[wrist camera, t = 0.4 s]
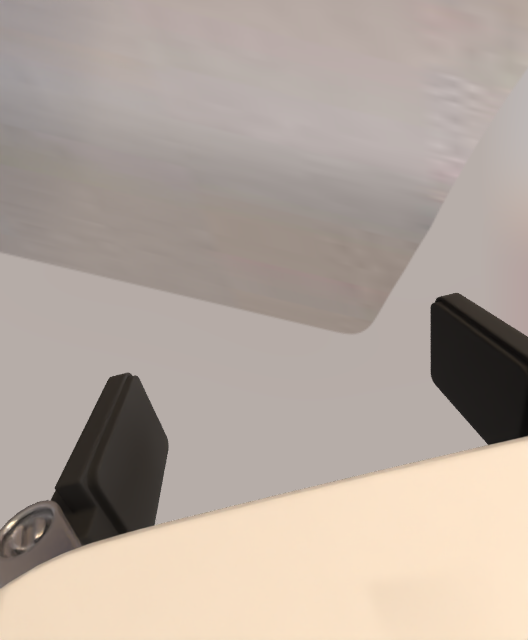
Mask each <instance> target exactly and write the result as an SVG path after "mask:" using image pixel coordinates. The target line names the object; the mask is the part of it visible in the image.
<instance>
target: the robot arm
mask: <svg viewBox="0 0 528 640" xmlns="http://www.w3.org/2000/svg"><path fill="white" fill-rule="evenodd" d="M431 377H432V380H433V382H434V383H435V385H436V386H437V387H438V388H439V389H440V391H441V392H442V393H443V394H444V395H445V396H446V397H447V399H448V400H450V402H451V403H452V404H453V405H454V406H455V408H456V409H457V410H458V411H459V412H460V413H461V414H462V416H463V417H464V418H465V419H466V420H467V421H468V422H469V423H470V425H471V426H472V427H473V428H474V429H475V430H476V431H477V433H478V434H479V435H480V436H481V437H482V438H483V439H484V440H485V442H486V443H487V444H488V445H486V446H482V447H478V448H473V449H470V450H465V451H460V452H456V453H452V454H448V455H444V456H439V457H435V458H430V459H427V460H422V461H418V462H413V463H409V464H405V465H401V466H396V467H392V468H388V469H384V470H379V471H375V472H371V473H367V474H363V475H359V476H354V477H350V478H346V479H342V480H337V481H333V482H329V483H325V484H321V485H317V486H313V487H308V488H304V489H300V490H296V491H292V492H288V493H283V494H279V495H275V496H271V497H267V498H263V499H259V500H255V501H251V502H247V503H243V504H238V505H234V506H230V507H226V508H222V509H218V510H214V511H210V512H206V513H202V514H198V515H194V516H190V517H186V518H182V519H178V520H174V521H170V522H166V523H162V524H159V525H154V524H155V519H156V514H157V508H158V503H159V497H160V492H161V486H162V481H163V475H164V469H165V464H166V459H167V454H168V439H167V436H166V434H165V432H164V430H163V428H162V426H161V424H160V421H159V419H158V417H157V415H156V413H155V411H154V409H153V407H152V405H151V402H150V400H149V398H148V396H147V394H146V392H145V390H144V388H143V385H142V383H141V381H140V379H139V378H138V376H132V375H131V374H130V373H125V374H121V375H116V376H112V377H110V378H109V379H108V381H107V383H106V385H105V387H104V389H103V391H102V393H101V395H100V397H99V399H98V401H97V404H96V405H95V408H94V409H93V411H92V414H91V416H90V418H89V420H88V422H87V424H86V426H85V428H84V430H83V432H82V434H81V436H80V438H79V440H78V442H77V444H76V446H75V448H74V450H73V452H72V454H71V456H70V458H69V460H68V462H67V464H66V466H65V468H64V470H63V472H62V474H61V476H60V478H59V480H58V482H57V484H56V486H55V489H56V491H55V493H54V495H53V497H52V499H51V501H49V500H46V501H40V502H37V503H35V504H32V505H30V506H28V507H26V508H25V509H23V510H21V511H20V512H18V513H17V514H16V515H15V516H14V517H12V518H11V519H10V520H9V521H8V522H7V523H6V524H5V525H4V526H3V527H2V529H1V530H0V640H528V337H527V336H526V335H524V334H522V333H521V332H519V331H518V330H516V329H515V328H513V327H511V326H510V325H508V324H506V323H505V322H503V321H502V320H500V319H499V318H497V317H495V316H494V315H492V314H491V313H489V312H487V311H486V310H485V309H483V308H481V307H480V306H478V305H476V304H475V303H473V302H472V301H470V300H468V299H467V298H466V297H464V296H462V295H461V294H459V293H453V294H449V295H445V296H441V297H438V298H437V299H436V301H435V303H433V304H432V305H431Z"/></svg>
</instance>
